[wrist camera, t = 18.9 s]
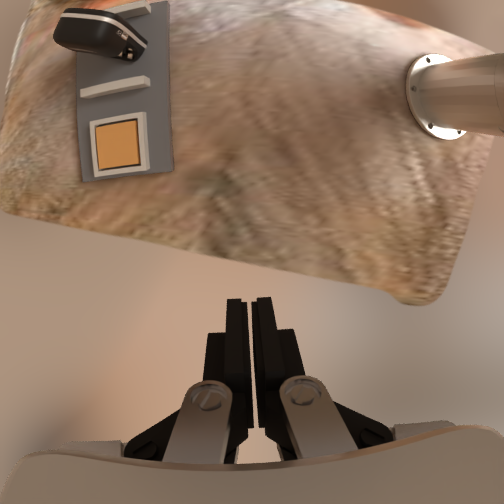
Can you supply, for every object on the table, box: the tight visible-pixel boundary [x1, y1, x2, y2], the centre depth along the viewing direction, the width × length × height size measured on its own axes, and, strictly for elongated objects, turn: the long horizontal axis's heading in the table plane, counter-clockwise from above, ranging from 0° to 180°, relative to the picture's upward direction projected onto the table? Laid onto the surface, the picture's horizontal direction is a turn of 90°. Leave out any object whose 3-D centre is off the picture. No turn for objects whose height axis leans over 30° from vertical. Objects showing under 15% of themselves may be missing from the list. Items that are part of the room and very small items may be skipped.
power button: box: [96, 121, 141, 169], centre depth 31 cm, size 5×5×1 cm
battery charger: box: [53, 8, 148, 62], centre depth 22 cm, size 7×4×11 cm, turn 67°
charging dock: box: [76, 0, 174, 182], centre depth 29 cm, size 12×22×4 cm, turn 2°
